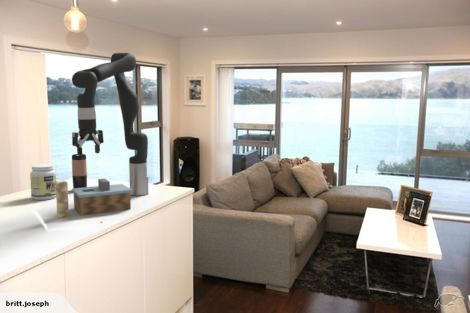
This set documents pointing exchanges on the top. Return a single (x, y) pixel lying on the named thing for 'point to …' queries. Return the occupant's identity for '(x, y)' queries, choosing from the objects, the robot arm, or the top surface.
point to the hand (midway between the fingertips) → (89, 154)
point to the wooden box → (102, 203)
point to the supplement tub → (43, 182)
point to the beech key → (62, 199)
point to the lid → (101, 189)
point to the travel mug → (79, 171)
